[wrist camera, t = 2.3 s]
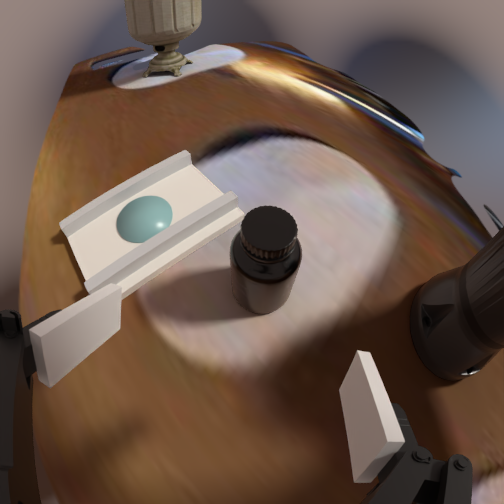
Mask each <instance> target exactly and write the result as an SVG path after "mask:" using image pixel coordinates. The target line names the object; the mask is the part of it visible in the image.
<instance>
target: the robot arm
mask: <svg viewBox="0 0 504 504" xmlns="http://www.w3.org/2000/svg"><path fill="white" fill-rule="evenodd" d="M121 295H122V287H121V286H118V285H115V284H112V283H110V284H109V285H107V286H105V287H103V288H101V289H99V290H98V291H96V292H94V293H92V294H90V295H88V296H87V297H85V298H83V299H81V300H80V301H78V302H76V303H74V304H72V305H71V306H69V307H67V308H65V309H64V310H61V309H60V310H56V311H52V312H50V313H48V314H46V315H45V316H43V317H41V318H39V320H36V321H34V322H32V323H31V324H29V325H27V326H25V327H24V328H22V321H21V315H20V314H19V312H17V311H15V310H3V311H0V504H41V500H40V495H39V489H38V484H37V476H36V468H35V459H34V446H33V427H32V394H33V377H32V374H33V373H34V372H35V371H37V374H38V379H39V381H40V382H42V383H43V384H45V385H46V386H48V387H49V388H51V387H52V386H54V385H55V384H56V383H57V382H58V381H59V380H61V379H62V378H63V377H64V376H65V375H66V374H67V373H69V372H70V371H71V370H72V369H73V368H74V367H76V366H77V365H78V364H79V363H80V362H81V361H83V360H84V359H85V358H86V357H87V356H89V355H90V354H91V353H92V352H93V351H94V350H96V349H97V348H98V347H99V346H100V345H102V344H103V343H104V342H105V341H106V340H108V339H109V338H110V337H111V336H112V335H114V334H115V333H116V332H117V331H118V330H120V317H121ZM410 328H411V335H412V339H413V343H414V346H415V348H416V351H417V353H418V355H419V357H420V358H421V360H422V362H423V363H424V364H425V365H426V367H427V368H428V369H429V370H430V371H431V372H433V373H434V374H435V375H437V376H438V377H440V378H443V379H446V380H460V379H463V378H466V377H469V376H472V375H474V374H475V373H477V372H478V371H480V370H481V369H482V368H483V367H484V366H485V365H486V364H487V363H488V362H489V361H490V360H491V359H492V358H493V357H494V356H495V355H496V354H497V353H498V352H499V351H500V350H501V349H502V348H504V227H503V228H502V229H501V230H500V231H499V232H498V233H497V234H496V235H495V236H494V237H493V238H492V239H491V240H490V241H489V242H488V243H487V244H486V246H485V247H484V248H483V249H481V250H480V251H479V252H478V253H477V254H476V255H475V256H474V257H473V258H472V259H471V260H470V261H469V262H468V263H467V264H466V265H464V266H461V267H458V268H455V269H452V270H449V271H446V272H443V273H440V274H437V275H436V276H434V277H432V278H431V279H430V280H429V281H428V282H427V283H426V284H424V285H423V286H422V287H421V288H420V289H419V291H418V292H417V294H416V296H415V298H414V300H413V303H412V307H411V313H410ZM339 393H340V398H341V403H342V409H343V415H344V420H345V426H346V432H347V438H348V445H349V451H350V458H351V465H352V472H353V480H354V483H371V482H372V481H373V479H374V478H375V477H376V476H377V475H378V479H379V483H378V484H377V485H376V486H375V487H374V488H373V489H372V490H371V491H370V492H369V493H368V494H367V497H366V498H365V499H364V500H363V501H362V502H361V504H411V503H412V504H471V497H472V464H471V462H470V460H469V459H468V458H467V457H465V456H463V455H459V454H456V455H453V456H451V457H450V458H449V459H448V461H447V462H445V461H440V460H436V459H433V456H432V454H431V453H430V451H429V450H427V449H426V448H424V447H421V446H418V443H417V441H416V438H415V436H414V433H413V431H412V428H411V426H410V423H409V421H408V420H407V416H406V414H405V411H404V410H403V409H402V408H401V407H400V405H399V404H396V403H391V402H390V400H389V397H388V395H387V392H386V390H385V387H384V385H383V382H382V380H381V377H380V375H379V373H378V370H377V368H376V365H375V363H374V361H373V358H372V356H371V354H370V352H364V351H359V350H357V352H356V354H355V357H354V359H353V361H352V363H351V366H350V368H349V370H348V372H347V374H346V376H345V379H344V381H343V383H342V385H341V387H340V389H339Z"/></svg>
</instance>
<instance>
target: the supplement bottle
mask: <svg viewBox="0 0 504 504" xmlns="http://www.w3.org/2000/svg"><path fill="white" fill-rule="evenodd" d="M297 232H298V229H297V224H296V222H295V220H294V219H293V217H292V216H291V215H290V213H288V212H286V211H285V210H282V209H281V208H277V207H273V206H260V207H258V208H255V209H253V210H251V211H250V212H248V213H247V215H246V216H244V219H243V220H242V224H241V229H240V230H239V231H238V232H237V234H236V235H235V236H234V238H233V240H232V242H231V246H230V266H231V281H232V290H233V294H234V297H235V299H236V300H237V302H238V303H239V304H240V305H241V306H242V307H243V308H245V309H246V310H248V311H250V312H253V313H259V314H265V313H270V312H273V311H275V310H277V309H279V308H280V307H282V306H283V305H284V303H285V302H286V301H287V299H288V297H289V295H290V292H291V289H292V287H293V284H294V281H295V278H296V275H297V273H298V270H299V267H300V264H301V260H302V248H301V245H300V242H299V240H298V238H297Z"/></svg>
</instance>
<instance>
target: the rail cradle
mask: <svg viewBox="0 0 504 504" xmlns="http://www.w3.org/2000/svg"><path fill="white" fill-rule="evenodd" d="M244 216H245V214H244V213H243V212H242V211H241V210H240V209H239V208H238V197H237V196H236V195H235V194H234V193H233V192H232V191H229V192H227V193H225V194H223V193H222V192H221V191H220V190H219V189H218V188H217V187H216V186H215V185H214V184H213V183H212V182H211V181H209V180H208V179H207V178H206V177H205V176H204V175H203V174H202V173H201V172H200V171H199V170H198V169H197V168H196V167H194V166H193V165H192V162H191V154H190V153H189V152H187V151H186V150H184V151H182V152H180V153H178V154H176V155H174V156H172V157H170V158H168V159H166V160H164V161H162V162H160V163H158V164H156V165H154V166H152V167H150V168H148V169H147V170H145V171H143V172H141V173H139V174H137V175H136V176H134V177H132V178H130V179H128V180H127V181H125V182H123V183H121V184H120V185H118V186H116V187H114V188H113V189H111V190H109V191H108V192H106V193H104V194H103V195H101V196H99V197H98V198H96V199H95V200H93V201H91V202H90V203H88V204H87V205H85V206H84V207H82V208H80V209H79V210H77V211H76V212H74V213H73V214H71V215H70V216H68V217H67V218H65V219H64V220H62V221H61V222H60V223H59V224H60V227H61V230H62V231H63V232H64V234H65V235H66V237H67V238H68V241H69V243H70V246H71V248H72V250H73V253H74V255H75V257H76V260H77V262H78V264H79V267H80V269H81V271H82V273H83V275H84V278H85V280H86V281H85V282H84V285H85V287H86V289H87V291H88V293H89V294H92V293H94V292H96V291H98V290H99V289H101V288H103V287H105V286H107V285H109V284H110V283H112V284H115V285H118V286H121V287H122V295H121V300H122V299H124V298H125V297H127V296H128V295H130V294H131V293H133V292H134V291H136V290H137V289H139V288H140V287H141V286H143V285H144V284H146V283H147V282H149V281H150V280H152V279H153V278H155V277H156V276H158V275H159V274H161V273H162V272H164V271H165V270H167V269H168V268H170V267H171V266H173V265H174V264H176V263H177V262H179V261H181V260H182V259H184V258H185V257H187V256H188V255H190V254H191V253H193V252H194V251H196V250H197V249H199V248H200V247H202V246H204V245H205V244H207V243H208V242H210V241H211V240H213V239H214V238H216V237H218V236H219V235H221V234H222V233H224V232H225V231H227V230H229V229H230V228H232V227H233V226H235V225H236V224H238V223H240V222H241V221H242V220H243V219H244Z"/></svg>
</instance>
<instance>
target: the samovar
mask: <svg viewBox="0 0 504 504" xmlns="http://www.w3.org/2000/svg"><path fill="white" fill-rule="evenodd" d="M125 8H126V16H127V23H128V30H129V33H130V35H131V36H132V37H133V38H134V39H135V40H137V41H140V42H142V43H144V44H147V45H153V50H154V52H158V55H157V56H155V57H154V58H153V59H152V60H151V61H150V62H149V67H148V70H147V71H146V72H144V74H143V77H147V76H148V75H149V74H150V73H151V72H154V71H157V72H158V71H166V70H167V71H171V72H173V73H174V76H180V75H182V73H181V72H180V71H179V70H180V67H181V66H184V65H185V64H186V62H191V63H193V62H192V61H190V60H188V59H187V58H186V57H185V56H183V55H181V54H180V53H178V52H175V49H177V48H179V41H180V40H182V39H184V38H186V37H188V36H189V35H190V34H191V33H192V32H194V31H195V30H196V29H197V28H198V26H199V25H200V22H201V0H125Z"/></svg>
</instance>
